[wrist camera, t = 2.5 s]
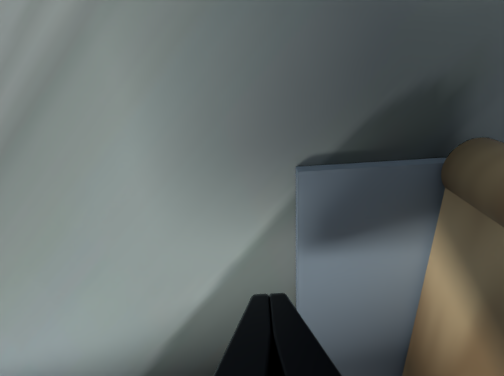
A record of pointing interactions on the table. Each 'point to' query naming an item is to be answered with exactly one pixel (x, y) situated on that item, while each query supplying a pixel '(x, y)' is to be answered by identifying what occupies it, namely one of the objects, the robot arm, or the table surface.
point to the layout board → (365, 257)
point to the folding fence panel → (464, 271)
